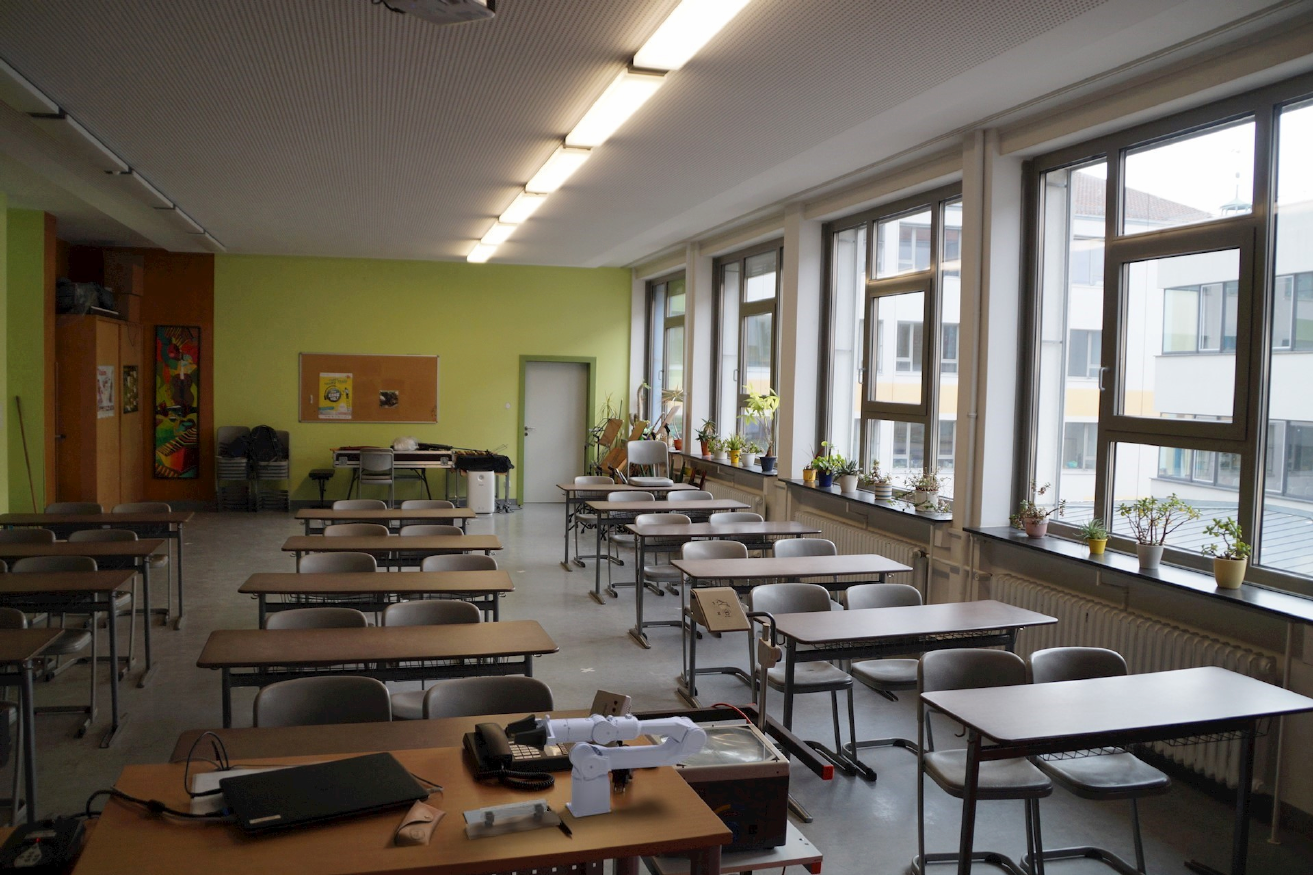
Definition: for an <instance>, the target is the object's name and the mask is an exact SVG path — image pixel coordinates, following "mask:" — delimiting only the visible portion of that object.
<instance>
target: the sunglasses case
mask: <svg viewBox="0 0 1313 875" xmlns="http://www.w3.org/2000/svg"><path fill="white" fill-rule="evenodd" d="M446 813H447V812H446V811H443V810H440V809H438V808H435V807H433V806H431V805H428V804H427V803H423V802H421V801H420V799H416V801H415V802H414V804H413V806H411V808H410V809H409V811H408V813H407V814H406V815H405V817H404V818H403V820H402V821H401V823H400V825H399V827H398V829H397V830H396V832H395V834H394V836H393V838H392V839H393V841H392V842H393V845H395V847H396V846H398V847H401V846H404V847H406V846H410V847H411V846H413V847H415V846H429V845H430V842H431V839H432V837H433V834H434V832H435V830H436V828H437V827H438V825H439V824H440V821H441V820H442V819H443V817H444V816H445V815H446Z"/></svg>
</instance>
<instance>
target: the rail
mask: <svg viewBox="0 0 1313 875" xmlns="http://www.w3.org/2000/svg"><path fill="white" fill-rule="evenodd" d="M537 799H538V800H536V799H532V800H526V801H519V802H513V803H505V804H499V805H492V806H484V807H485V808H483V807H480V808H479V818H480V820H481V821H487V815H489V814H494V819H500V818H506V817H512V816H519V815H525V814H532V813H536V807H541V806H543V807H544V811H547V809H548V801H547V799H546V798H537Z"/></svg>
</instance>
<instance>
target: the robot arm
mask: <svg viewBox="0 0 1313 875" xmlns="http://www.w3.org/2000/svg"><path fill="white" fill-rule="evenodd" d="M550 718H551V717H550V715H549V714H545V716H544V718H536V715H535V714H534V713H532V714H530V715H528V716H527V717H525V718H523V719H519V720H516V721H513V722H509V723H507V725H506V726H507V727H506V728H507V729H506V732H507V733H508V734H510V735H511V734H512V735H513V736H514V737H513V744H515V745H520V746H524V747H525V746H526V747H530V748H534V749H536V750H539V751H540V752H544V750H545V746H547V747H555V746H556V744H568V743H569V744H570V743H575V744H574V745H573V746H572V747H571V748H570V750H569V755H568V758H569V761H570V763H571V764H572V765H573V766H572V768H571V769H572V770H571V774H570V776H571V782H570V783H571V784H570V787H571V788H570V795H571V796H570V802H566V803H565V806H566V807H567V809H568V811H570V814H571V815H572V816H573V818H580V817H588V816H594V815H601V814H605V813H611V811H612V810H611V808H610V806H611V783H610V776H609V775H608V774H609V771H611V770H620V769H621V770H623V769H637V768H639V769H641V768H652V767H653V768H654V767H667V766H668V767H671V766H676V765H677V764H679V763H681V762H683V761H684V760H686V759H687V758H689V757H691V756H696V755H699V754H700V753H701V751H702V750H703V749H704V747H705V746H706V744H707V741H708V735H707V733H706V730H704V728H702V727H700V726H699V725H697V724H696V723H695V722H693V720H692V719H691V718H689V717H687V716H681V717H680V716H673V717H668V718H667V717H665V718H655V719H647V720H646V719H645V720H644V719H642V720H638V718H637V717H636V716H635V715H632V714H630V713H625V716H613V715H611V714H610V715H607V716H606V718H605V716H603V715H602V714H598V713H593V714H591V715H590V716H589V717H585V718H583V717H578V718H575V717H574V718H558V719H557V718H556V719H550ZM639 735H640V736H641V735H645V736H646V735H649V736H651V735H652V736H653V735H654V736H655V735H659V736H667V737H666V739H665V742H664V743H663V744H655V745H654V744H652V745H631V746H618V747H617V746H614V747H606V746H605V745H607V744H610V742H612V741H633V740H636V739H637V738H638V737H639ZM593 741H594V742H595V743H597V744H590V743H588V742H593ZM602 745H603V746H602Z"/></svg>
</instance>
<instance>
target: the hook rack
mask: <svg viewBox="0 0 1313 875" xmlns="http://www.w3.org/2000/svg"><path fill="white" fill-rule="evenodd" d="M538 799H539V798H536V799H535V800H538ZM485 807H486V806H484V807H482V808H485ZM560 823H561V824H562V820H561V818H560V816H559V814H557V812H556V810H555V809H554V810H549V811H547V812H544V807H543V806H541V807H536V813H534V814H528V815H521V816H515V817H509V818H502V819H496V820H494V814H489V815H487V821H483V822H477V823H470V824H468V823H465V824H464V825H465V826H464V829H465V831H466V834H467V836H468V838H469V840H475V839H481V838H488V837H494V836H499V835H500V836H501V835H506V834H511V833H512V834H514V833H519V832H526V831H529V830H530V831H531V830H538V829H543V828H548V827H549V828H550V827H555V826H561V825H560Z"/></svg>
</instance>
